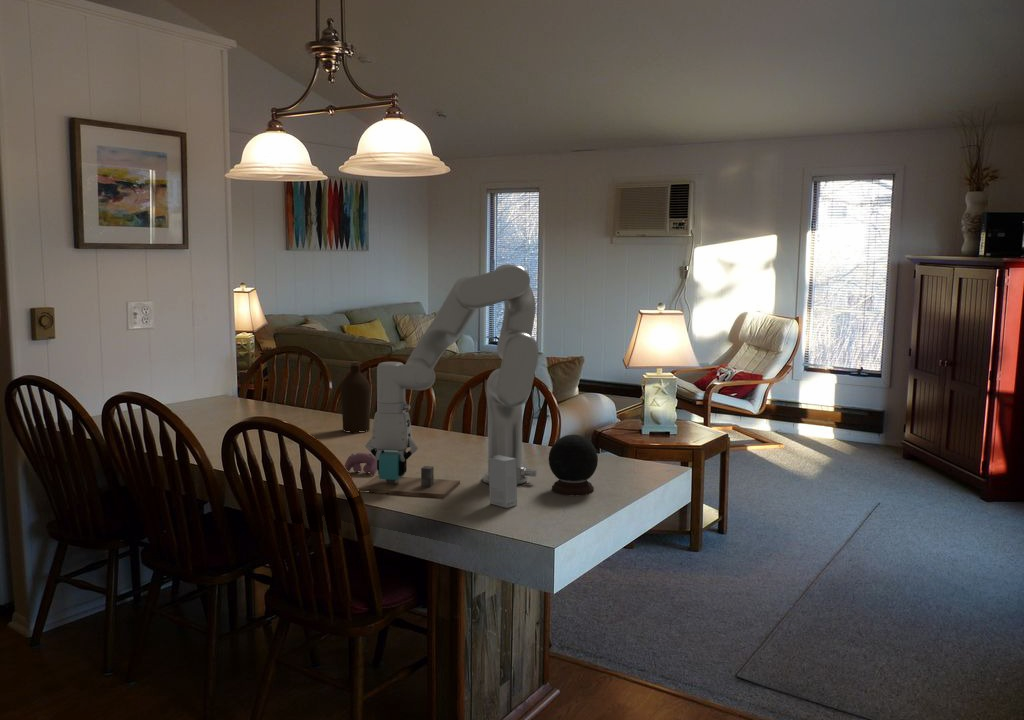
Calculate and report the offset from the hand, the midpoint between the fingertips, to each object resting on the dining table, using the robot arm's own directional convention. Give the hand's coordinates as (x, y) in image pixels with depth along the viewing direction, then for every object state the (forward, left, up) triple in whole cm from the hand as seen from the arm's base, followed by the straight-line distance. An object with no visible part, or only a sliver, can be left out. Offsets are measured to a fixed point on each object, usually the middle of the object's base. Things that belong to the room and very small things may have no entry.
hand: (391, 473), depth 228 cm
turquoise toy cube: (0, 0, -1) cm, 1 cm away
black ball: (-48, -9, -4) cm, 49 cm away
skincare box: (-33, +9, -4) cm, 34 cm away
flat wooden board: (-5, 0, -4) cm, 6 cm away
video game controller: (+14, -12, -4) cm, 19 cm away
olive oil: (+40, -68, -4) cm, 79 cm away
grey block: (0, 0, -4) cm, 4 cm away
